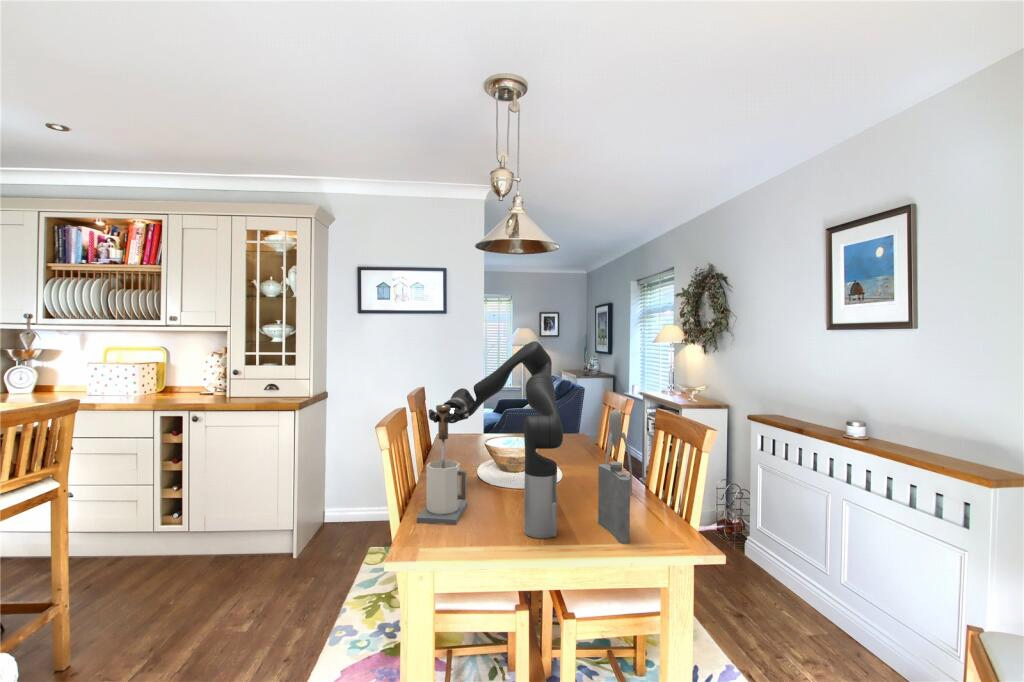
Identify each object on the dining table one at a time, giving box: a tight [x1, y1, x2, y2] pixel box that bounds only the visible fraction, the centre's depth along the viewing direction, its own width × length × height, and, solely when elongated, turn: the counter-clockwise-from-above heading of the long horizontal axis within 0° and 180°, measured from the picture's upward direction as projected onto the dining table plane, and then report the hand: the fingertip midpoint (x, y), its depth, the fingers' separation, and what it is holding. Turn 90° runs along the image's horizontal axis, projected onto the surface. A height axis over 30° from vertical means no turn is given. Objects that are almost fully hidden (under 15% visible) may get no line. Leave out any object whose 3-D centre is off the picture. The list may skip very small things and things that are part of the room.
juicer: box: [605, 408, 633, 497], centre depth 175 cm, size 10×9×30 cm
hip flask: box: [597, 461, 631, 545], centre depth 144 cm, size 16×4×20 cm, turn 15°
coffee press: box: [416, 459, 468, 525], centre depth 157 cm, size 13×16×16 cm
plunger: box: [435, 404, 450, 469], centre depth 156 cm, size 8×8×23 cm
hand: (440, 419), depth 153 cm, fingers closed on plunger, 3 cm apart
